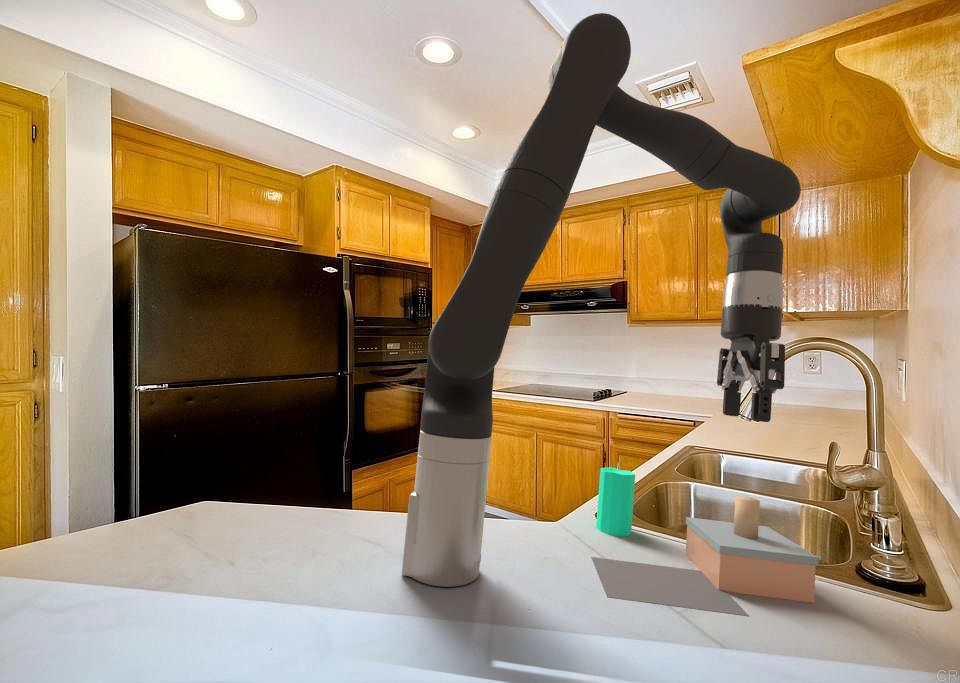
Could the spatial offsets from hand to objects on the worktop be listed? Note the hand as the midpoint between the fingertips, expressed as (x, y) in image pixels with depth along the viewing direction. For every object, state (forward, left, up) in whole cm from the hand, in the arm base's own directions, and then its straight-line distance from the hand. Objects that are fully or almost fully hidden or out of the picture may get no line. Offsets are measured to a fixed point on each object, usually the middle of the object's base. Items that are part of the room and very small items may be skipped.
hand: (744, 418), depth 65 cm
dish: (+1, 0, -22) cm, 22 cm away
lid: (+1, 0, -17) cm, 17 cm away
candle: (-14, +14, -23) cm, 30 cm away
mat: (-12, -6, -22) cm, 26 cm away
